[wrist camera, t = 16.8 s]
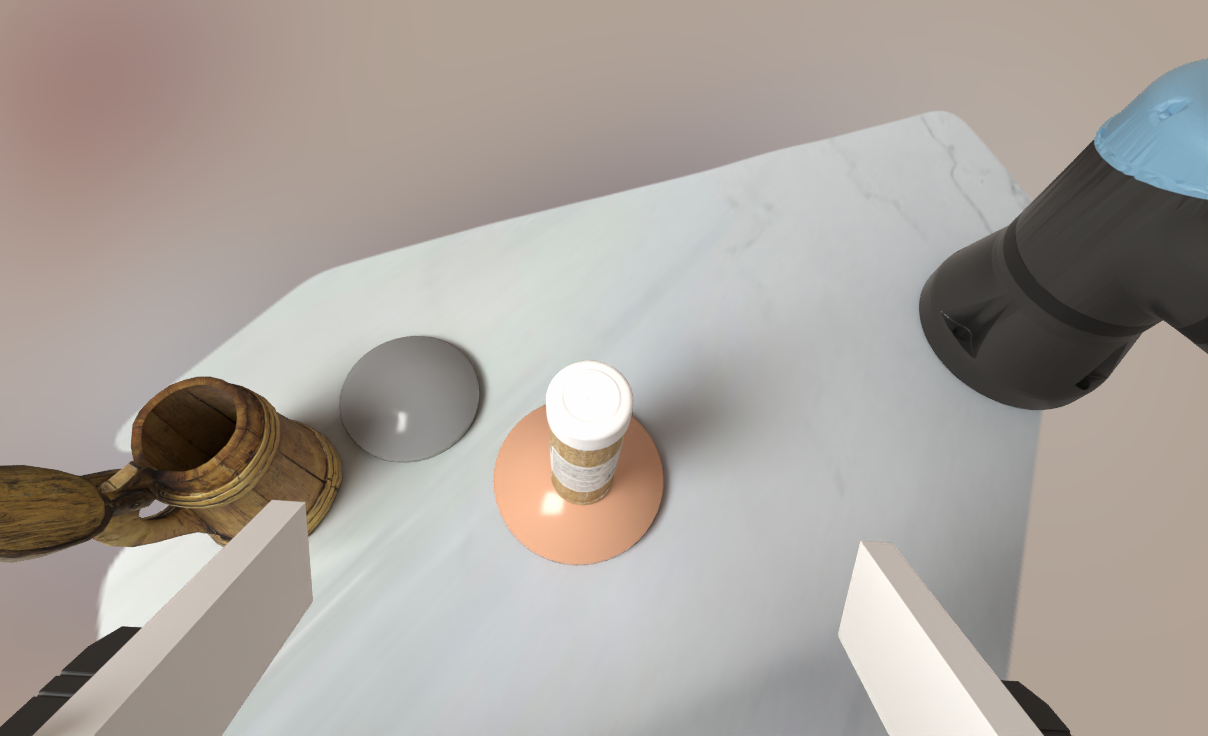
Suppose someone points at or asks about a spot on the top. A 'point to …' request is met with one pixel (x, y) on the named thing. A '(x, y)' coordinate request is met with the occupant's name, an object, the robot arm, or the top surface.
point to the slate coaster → (409, 399)
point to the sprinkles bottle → (587, 429)
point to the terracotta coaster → (568, 526)
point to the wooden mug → (175, 476)
